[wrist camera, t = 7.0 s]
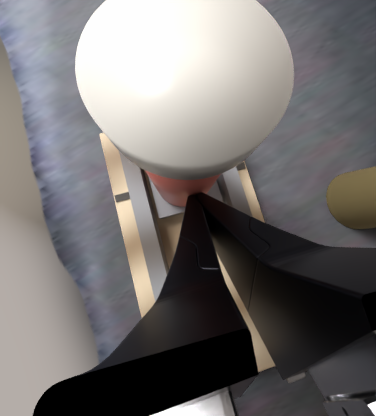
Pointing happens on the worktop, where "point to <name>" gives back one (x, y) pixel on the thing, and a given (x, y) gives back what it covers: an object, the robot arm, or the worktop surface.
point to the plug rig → (171, 232)
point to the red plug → (184, 87)
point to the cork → (354, 198)
